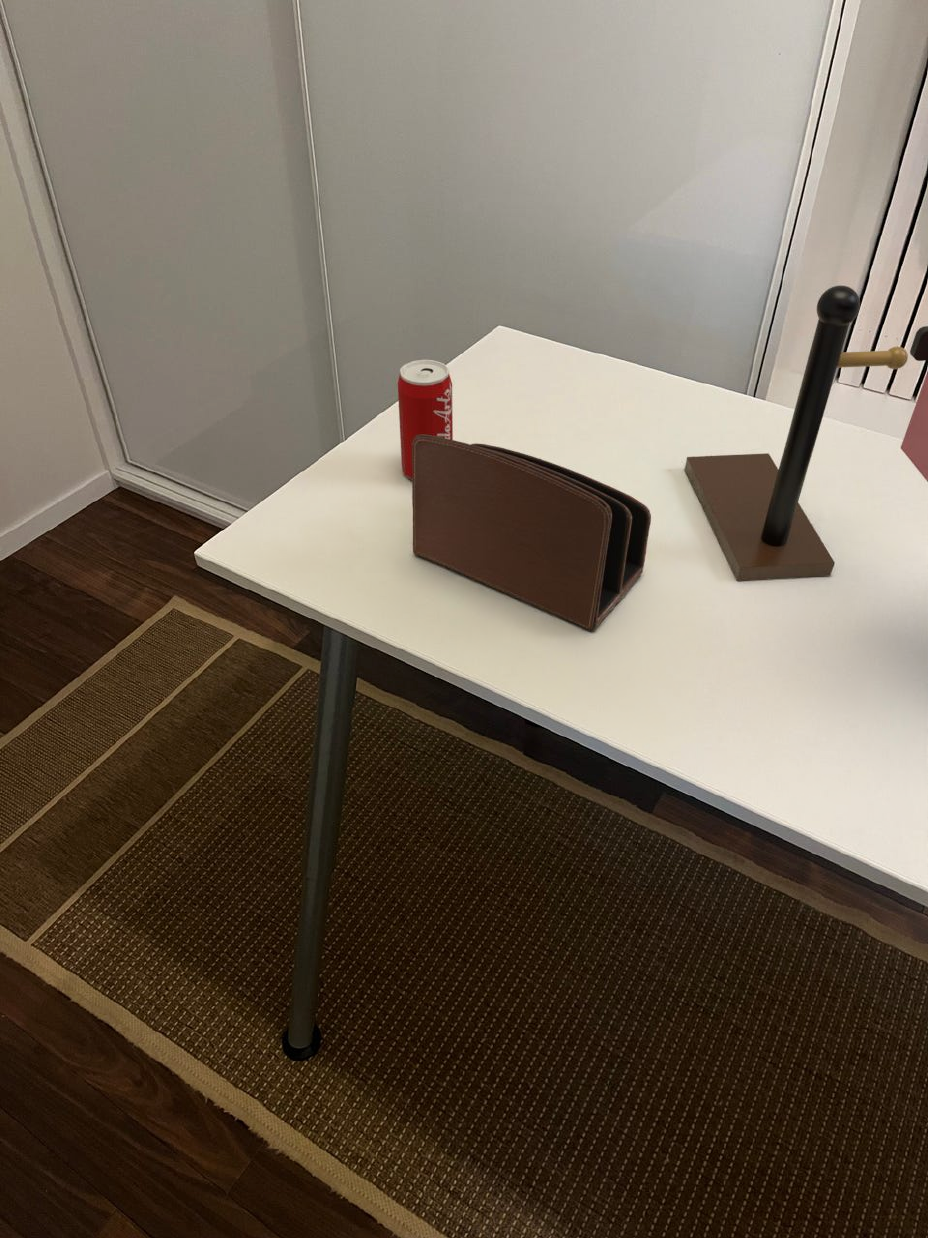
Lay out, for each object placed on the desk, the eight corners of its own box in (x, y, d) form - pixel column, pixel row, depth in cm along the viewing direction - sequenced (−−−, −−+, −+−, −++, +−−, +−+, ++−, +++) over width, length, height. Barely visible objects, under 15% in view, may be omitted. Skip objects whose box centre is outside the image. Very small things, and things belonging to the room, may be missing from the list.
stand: (788, 464, 102) (856, 217, 85) (857, 574, 88) (955, 305, 71) (684, 469, 102) (730, 220, 84) (736, 581, 88) (805, 310, 70)
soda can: (441, 489, 99) (439, 385, 91) (393, 479, 100) (387, 376, 92) (460, 462, 103) (459, 360, 95) (413, 453, 104) (409, 351, 96)
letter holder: (593, 634, 82) (610, 501, 73) (411, 555, 90) (405, 426, 81) (644, 574, 88) (665, 444, 79) (469, 505, 97) (469, 380, 87)
